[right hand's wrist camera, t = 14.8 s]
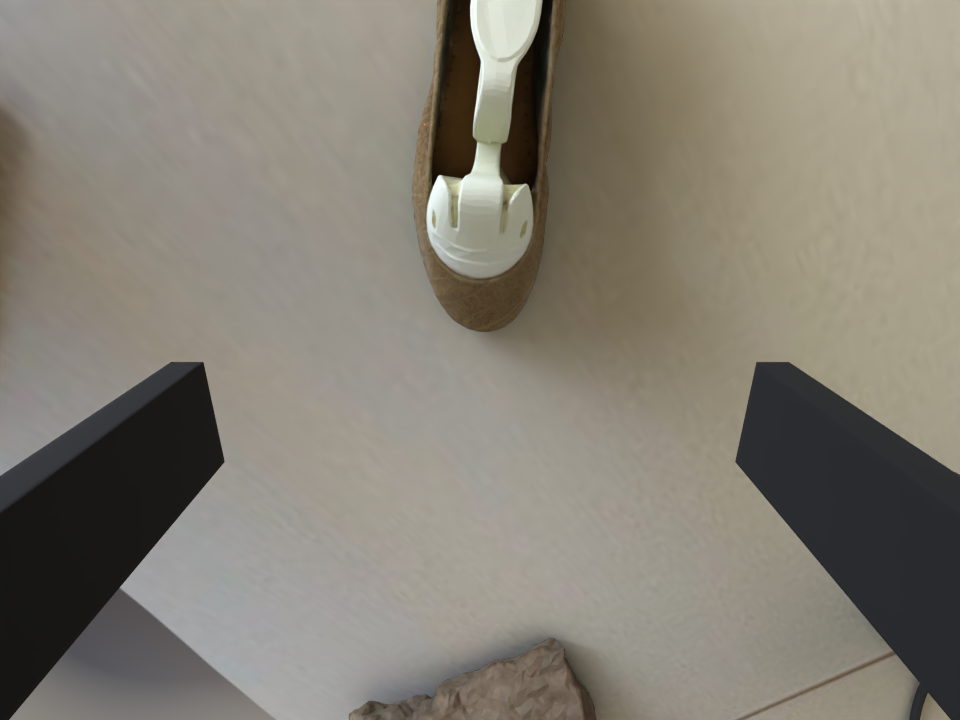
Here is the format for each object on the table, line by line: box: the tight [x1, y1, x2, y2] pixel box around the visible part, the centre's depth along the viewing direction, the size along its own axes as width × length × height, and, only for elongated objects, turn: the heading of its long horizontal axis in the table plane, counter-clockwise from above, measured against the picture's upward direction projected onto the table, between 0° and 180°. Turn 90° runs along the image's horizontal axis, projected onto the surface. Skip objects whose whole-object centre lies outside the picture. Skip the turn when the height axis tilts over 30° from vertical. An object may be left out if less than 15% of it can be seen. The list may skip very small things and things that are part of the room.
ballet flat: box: [413, 0, 566, 332], centre depth 27 cm, size 8×24×9 cm, turn 172°
